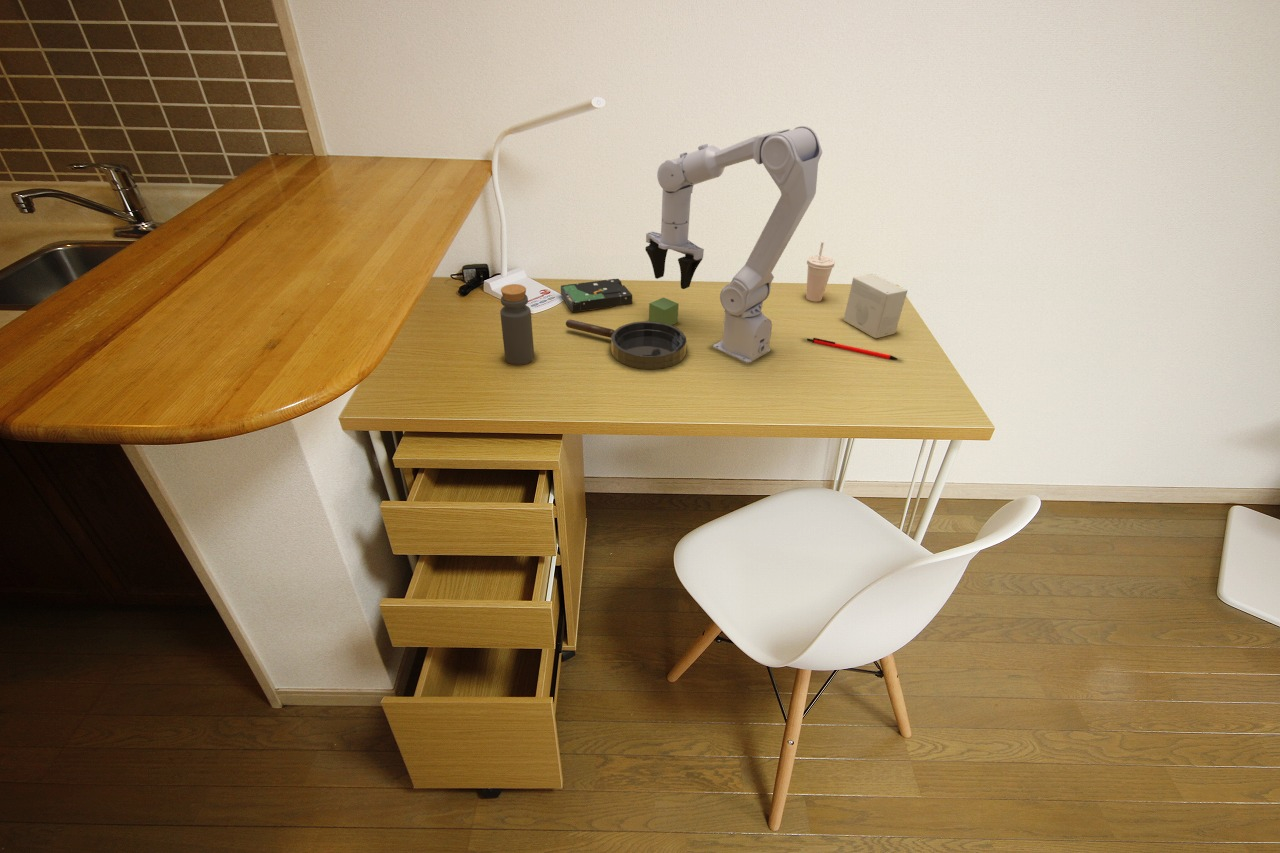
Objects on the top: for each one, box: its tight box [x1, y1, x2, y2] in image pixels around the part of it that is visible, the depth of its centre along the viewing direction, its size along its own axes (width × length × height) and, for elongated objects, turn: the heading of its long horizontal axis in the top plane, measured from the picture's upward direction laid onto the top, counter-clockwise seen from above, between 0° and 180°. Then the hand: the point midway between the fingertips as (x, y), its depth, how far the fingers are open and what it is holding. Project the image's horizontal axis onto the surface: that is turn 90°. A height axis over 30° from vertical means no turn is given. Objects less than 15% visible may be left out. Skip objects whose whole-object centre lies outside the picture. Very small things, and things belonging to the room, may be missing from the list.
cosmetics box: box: [843, 273, 908, 339], centre depth 145 cm, size 10×6×10 cm, turn 28°
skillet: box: [610, 320, 687, 370], centre depth 136 cm, size 15×15×3 cm
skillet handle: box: [565, 319, 615, 339], centre depth 140 cm, size 12×2×2 cm, turn 65°
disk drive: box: [560, 278, 633, 313], centre depth 156 cm, size 10×3×15 cm
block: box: [648, 296, 679, 326], centre depth 146 cm, size 5×5×5 cm
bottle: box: [499, 283, 535, 366], centre depth 129 cm, size 6×6×15 cm
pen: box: [806, 337, 899, 361], centre depth 139 cm, size 1×19×1 cm, turn 66°
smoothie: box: [805, 241, 836, 303], centre depth 156 cm, size 6×6×14 cm
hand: (672, 282), depth 143 cm, fingers open, 7 cm apart
